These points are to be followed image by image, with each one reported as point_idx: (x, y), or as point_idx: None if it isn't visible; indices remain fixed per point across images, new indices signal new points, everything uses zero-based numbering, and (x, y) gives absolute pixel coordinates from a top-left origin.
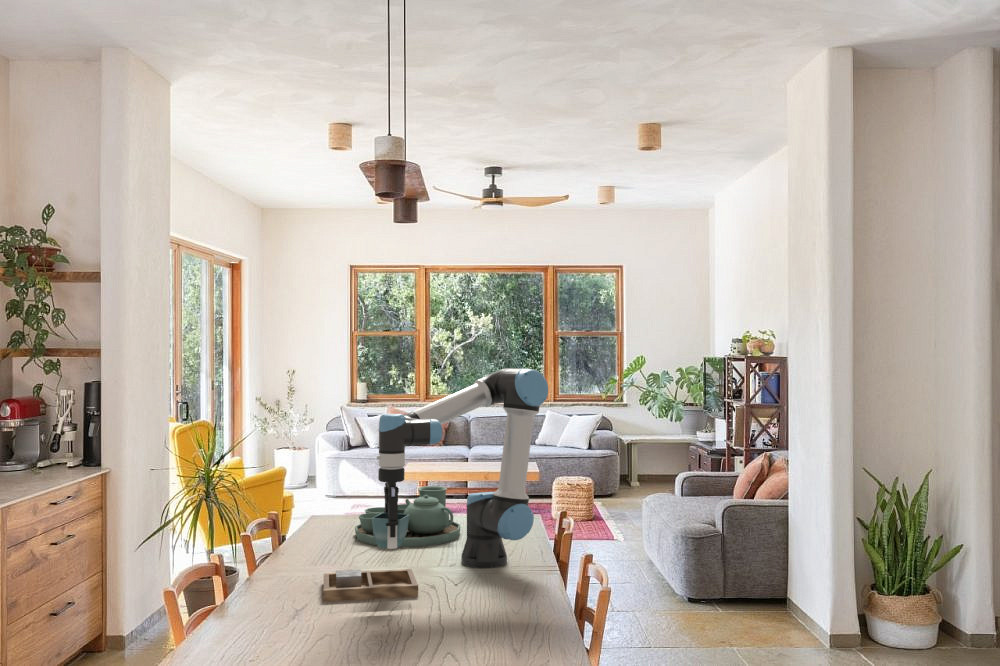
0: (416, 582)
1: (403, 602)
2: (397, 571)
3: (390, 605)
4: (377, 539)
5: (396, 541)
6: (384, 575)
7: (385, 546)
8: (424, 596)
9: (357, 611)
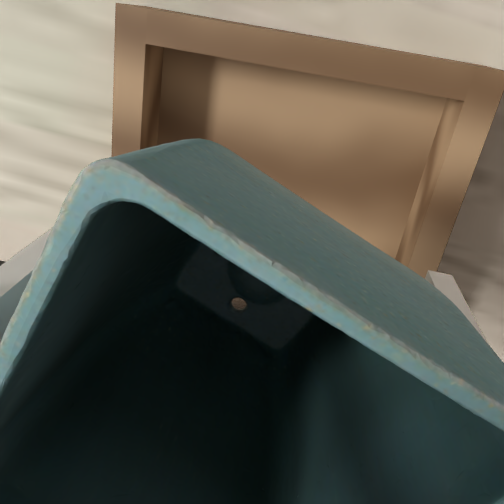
0: (439, 63)
1: (484, 151)
2: (144, 105)
3: (495, 220)
4: (302, 421)
5: (465, 313)
6: None
7: (321, 329)
8: (440, 9)
9: (498, 356)
